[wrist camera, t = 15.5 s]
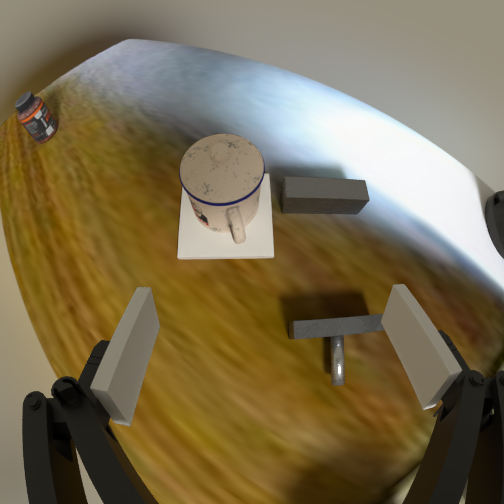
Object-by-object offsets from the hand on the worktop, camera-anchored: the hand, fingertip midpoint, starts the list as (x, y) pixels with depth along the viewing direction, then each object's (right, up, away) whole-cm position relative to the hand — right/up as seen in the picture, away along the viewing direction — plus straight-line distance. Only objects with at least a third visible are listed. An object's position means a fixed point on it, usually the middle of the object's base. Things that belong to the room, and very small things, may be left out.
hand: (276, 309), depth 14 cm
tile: (-5, +8, +23) cm, 25 cm away
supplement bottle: (-43, +27, +28) cm, 58 cm away
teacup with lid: (-4, +8, +22) cm, 24 cm away
